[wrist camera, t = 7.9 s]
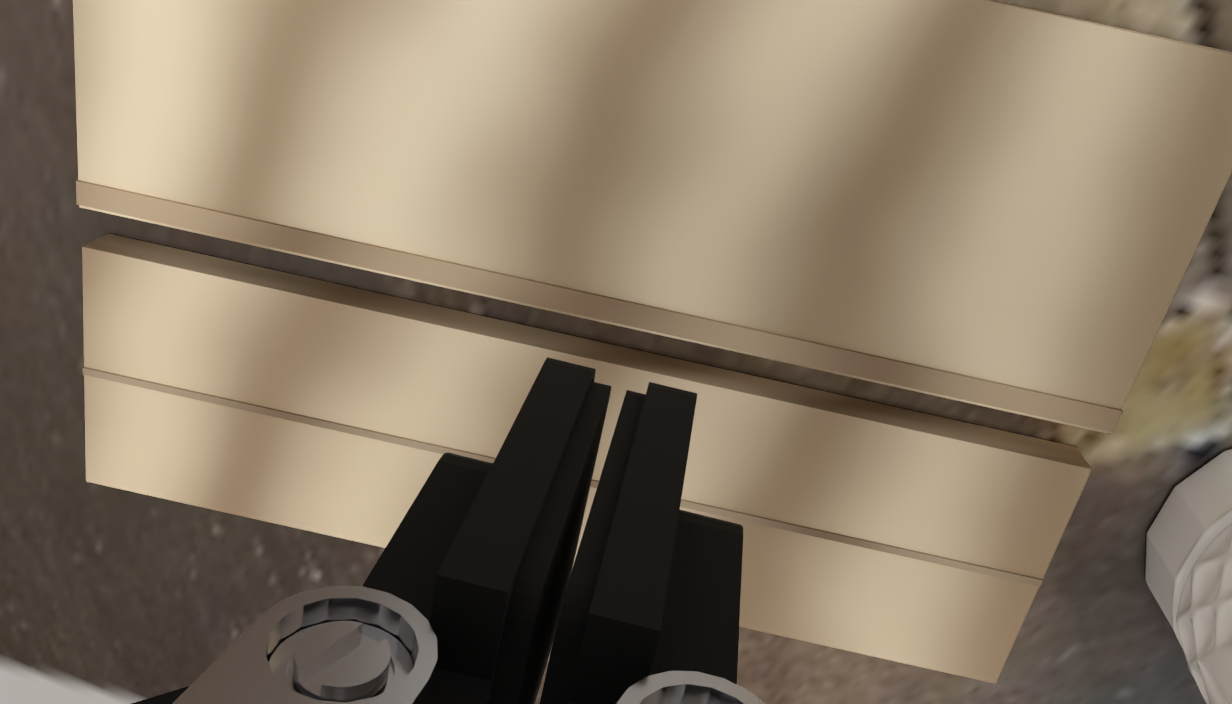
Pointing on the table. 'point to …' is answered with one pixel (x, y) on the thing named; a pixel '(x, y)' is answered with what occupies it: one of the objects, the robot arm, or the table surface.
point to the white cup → (1197, 573)
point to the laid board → (491, 399)
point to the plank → (697, 168)
